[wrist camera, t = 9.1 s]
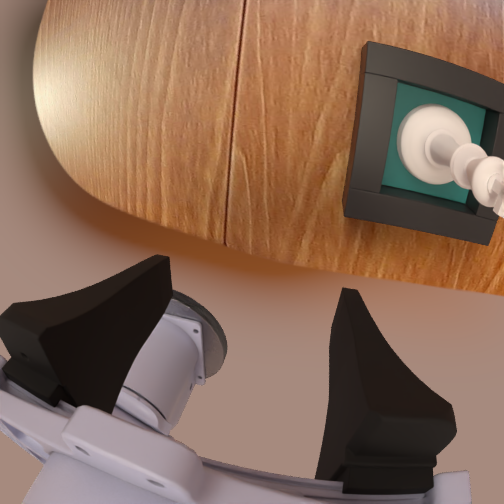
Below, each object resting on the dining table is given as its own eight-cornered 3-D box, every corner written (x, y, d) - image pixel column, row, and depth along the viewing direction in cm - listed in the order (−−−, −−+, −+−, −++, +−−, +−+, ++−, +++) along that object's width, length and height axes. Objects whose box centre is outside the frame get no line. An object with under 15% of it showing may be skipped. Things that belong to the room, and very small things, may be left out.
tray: (473, 228, 19) (488, 246, 16) (341, 200, 20) (343, 217, 18) (504, 91, 14) (525, 94, 11) (361, 47, 15) (367, 40, 13)
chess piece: (387, 169, 18) (436, 247, 9) (406, 92, 15) (482, 102, 7) (455, 192, 17) (532, 279, 9) (476, 120, 14) (579, 162, 6)
